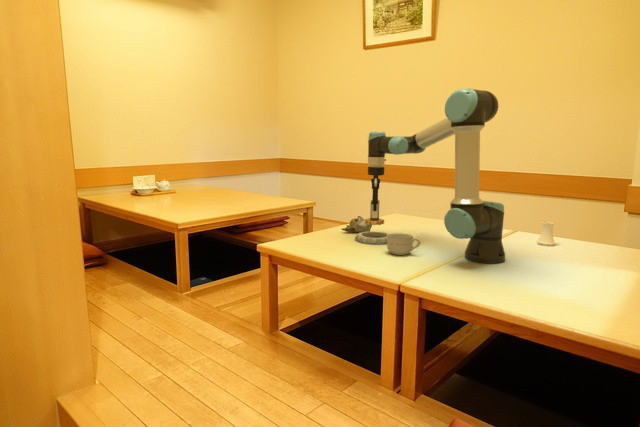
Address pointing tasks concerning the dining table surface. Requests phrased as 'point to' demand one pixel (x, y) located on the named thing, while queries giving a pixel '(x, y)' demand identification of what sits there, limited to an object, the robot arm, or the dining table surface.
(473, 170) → the robot arm
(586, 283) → the dining table surface
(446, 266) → the dining table surface
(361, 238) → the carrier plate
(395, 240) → the teacup
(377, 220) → the sun gear
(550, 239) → the vase
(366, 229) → the ceramic sculpture
